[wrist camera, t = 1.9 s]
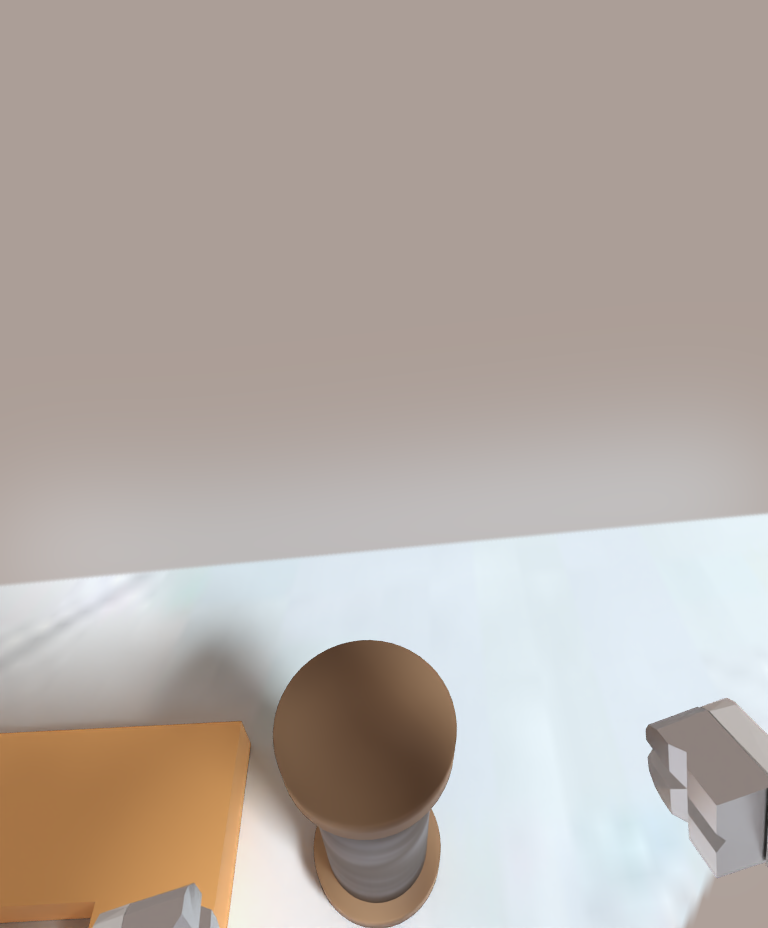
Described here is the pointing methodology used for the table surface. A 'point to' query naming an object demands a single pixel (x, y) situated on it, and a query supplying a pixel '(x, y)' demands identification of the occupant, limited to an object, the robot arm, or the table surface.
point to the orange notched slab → (119, 817)
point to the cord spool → (369, 774)
